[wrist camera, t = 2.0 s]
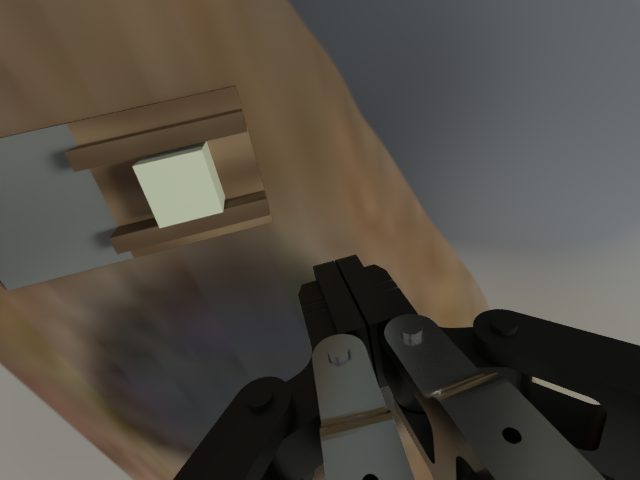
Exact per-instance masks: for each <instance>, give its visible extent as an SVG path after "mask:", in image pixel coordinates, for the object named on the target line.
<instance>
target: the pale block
mask: <svg viewBox="0 0 640 480" xmlns="http://www.w3.org/2000/svg"><path fill="white" fill-rule="evenodd" d="M132 167H133V169H134V171H135V174H136V176H137V178H138V180H139V183H140V185H141V187H142V189H143V192H144V194H145V196H146V198H147V201H148V203H149V205H150V208H151V210H152V212H153V214H154V217H155V219H156V221H157V223H158V226H159V228H163V227H167V226H171V225H175V224H179V223H183V222H187V221H191V220H195V219H199V218H202V217H206V216H210V215H214V214H218V213H222V212H223V209H224V201H225V195H224V192H223V189H222V186H221V183H220V180H219V177H218V174H217V171H216V168H215V165H214V162H213V159H212V156H211V153H210V150H209V147H208V144H207V141H205V142H201V143H197V144H193V145H188V146H184V147H180V148H176V149H171V150H167V151H163V152H158V153H154V154H150V155H146V156H143V157H142V158H141V159H140V160H139V161H138V162H137V163H136V164H134V165H133V166H132Z"/></svg>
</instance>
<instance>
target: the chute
mask: <svg viewBox="0 0 640 480" xmlns="http://www.w3.org/2000/svg"><path fill="white" fill-rule="evenodd" d="M67 125H68V127H69V129H70V131H71V133H72V135H73V137H74V139H75V141H76V143H77V145H78V146H76V147H74V148H72V149H70V150H68V151H65V152H64V154H65V156H66V157H67V159H68V161H69V163H70V165H71V167H72V169H73V171H74V172H77V171H82V170H86V169H90V171H91V173H92V175H93V177H94V179H95V181H96V183H97V185H98V187H99V189H100V191H101V193H102V195H103V197H104V199H105V201H106V203H107V205H108V207H109V209H110V211H111V213H112V215H113V217H114V219H115V221H116V223H117V225H118V228H117V229H116V230H115V231H114V233H113V234H112V235H111V237H110V238H109V240H110V242H111V244H112V245H113V247H114V249H115V251H116V253H117V254H121V253H125V252H129V251H131V253H132V255H133V257H134V258H136V257H139V256H143V255H147V254H151V253H155V252H159V251H163V250H166V249H170V248H174V247H178V246H182V245H186V244H189V243H193V242H197V241H201V240H205V239H209V238H213V237H216V236H220V235H224V234H228V233H232V232H236V231H239V230H243V229H247V228H251V227H255V226H259V225H263V224H266V223H270V222H273V219H272V215H271V212H270V208H269V205H268V201H267V197H266V194H265V190H264V187H263V183H262V179H261V176H260V172H259V169H258V165H257V161H256V158H255V154H254V151H253V147H252V144H251V140H250V136H249V133H248V129H247V126H246V122H245V118H244V115H243V111H242V108H241V104H240V100H239V97H238V93H237V90H236V86H233V87H228V88H224V89H219V90H215V91H210V92H206V93H201V94H197V95H192V96H188V97H183V98H179V99H174V100H170V101H165V102H161V103H156V104H152V105H147V106H142V107H138V108H133V109H129V110H124V111H120V112H115V113H111V114H106V115H102V116H97V117H93V118H88V119H84V120H79V121H75V122H70V123H67ZM205 141H207V144H208V147H209V150H210V153H211V156H212V159H213V162H214V165H215V168H216V171H217V174H218V177H219V180H220V183H221V186H222V189H223V192H224V195H225V201H224V209H223V212H222V213H218V214H214V215H210V216H206V217H202V218H199V219H195V220H191V221H187V222H183V223H179V224H175V225H171V226H167V227H163V228H159V226H158V223H157V221H156V219H155V217H154V214H153V212H152V210H151V208H150V205H149V203H148V201H147V198H146V196H145V194H144V192H143V189H142V187H141V185H140V183H139V180H138V178H137V176H136V174H135V171H134V169H133V167H132V166H133V165H134V164H136V163H137V162H138V161H139V160H140V159H141V158H142V157H143V156H146V155H150V154H154V153H158V152H163V151H167V150H171V149H176V148H180V147H184V146H188V145H193V144H197V143H201V142H205Z"/></svg>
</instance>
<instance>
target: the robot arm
mask: <svg viewBox="0 0 640 480" xmlns="http://www.w3.org/2000/svg"><path fill="white" fill-rule="evenodd" d="M313 269H314V274H315V278H316V281H313V282H310V283H306V284H302V286H301V289H300V292H299V294H298V296H299V300H300V304H301V307H302V311H303V315H304V319H305V323H306V327H307V331H308V334H309V338H310V342H311V346H312V356H311V359H310V361H309V363H308V365H307V366H306V367H305V368H304V370H302V371H301V372H300V373H299V374H298V375H296V376H295V377H293V378H291V379H290V380H288V381H286V382H285V381H283V380H282V379H280V378H277V377H262V378H259V379H256V380H254V381H252V382H250V383H249V384H247V385H246V386H245V387H243V388H242V389H241V390H240V392H239V393H238V394H237V395H236V397H235V398H234V399H233V401H232V402H231V403H230V405H229V406H228V407H227V409H226V410H225V411H224V413H223V414H222V415H221V417H220V418H219V419H218V421H217V422H216V423H215V425H214V426H213V427H212V429H211V430H210V431H209V433H208V434H207V435H206V437H205V438H204V439H203V440H202V442H201V443H200V444H199V446H198V447H197V448H196V450H195V451H194V452H193V454H192V455H191V456H190V458H189V459H188V460H187V462H186V463H185V464H184V466H183V467H182V468H181V470H180V471H179V472H178V474H177V475H176V476H175V478H174V479H173V480H312V479H313V476H314V471H315V469H316V468H317V467H319V466H320V465H321V464H323V463H324V468H325V475H326V480H415V478H414V475H413V473H412V470H411V467H410V464H409V461H408V458H407V455H406V453H405V450H404V447H403V444H402V441H401V438H400V435H399V433H398V430H397V427H396V424H395V421H394V419H393V416H392V414H391V412H390V410H387V408H386V406H385V403H384V400H383V397H382V394H381V391H380V388H381V387H384V386H388V385H389V387H390V389H391V391H392V393H393V397H394V404H395V409H396V411H397V413H398V415H399V416H400V418H401V420H402V422H403V424H404V425H405V427H406V429H407V431H408V433H409V434H410V436H411V438H412V440H413V442H414V443H415V445H416V447H417V449H418V451H419V452H420V454H421V456H422V458H423V459H424V461H425V463H426V465H427V467H428V468H429V470H430V472H431V474H432V477H433V479H434V480H640V346H639V345H635V344H631V343H627V342H624V341H620V340H617V339H613V338H609V337H606V336H602V335H598V334H595V333H591V332H587V331H583V330H580V329H576V328H572V327H569V326H565V325H562V324H558V323H554V322H551V321H547V320H543V319H539V318H536V317H532V316H528V315H525V314H521V313H517V312H514V311H510V310H503V309H494V310H488V311H485V312H483V313H481V314H479V315H478V316H477V317H476V318H475V320H474V322H473V327H466V328H443V327H439V326H438V325H437V324H436V323H435V322H434V321H433V320H431V319H430V318H428V317H426V316H423V315H418V313H417V312H416V311H415V309H414V308H413V307H412V305H411V304H410V302H409V301H408V300H407V298H406V297H405V296H404V294H403V293H402V292H401V290H400V289H399V288H398V286H397V285H396V283H395V282H394V281H393V280H392V278H391V276H390V275H389V274H388V272H387V271H386V270H384V269H383V268H381V267H379V266H377V265H375V264H374V265H370V266H367V267H364V266H363V265H362V263H361V262H360V260H359V258H358V257H357V255H352V256H349V257H345V258H341V259H338V260H335V262H334V261H331V262H327V263H323V264H320V265H316V266H313ZM532 376H533V377H536V378H539V379H541V380H544V381H547V382H550V383H552V384H555V385H558V386H561V387H563V388H566V389H569V390H571V391H574V392H577V393H580V394H582V395H585V396H588V397H590V398H592V399H594V400H596V401H597V402H599V403H600V404H601V405H594V404H590V403H587V402H584V401H581V400H579V399H576V398H574V397H571V396H568V395H565V394H563V393H560V392H557V391H555V390H552V389H550V388H547V387H544V386H542V385H539V384H536V383H534V382H532Z"/></svg>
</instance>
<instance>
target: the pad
mask: <svg viewBox="0 0 640 480" xmlns="http://www.w3.org/2000/svg"><path fill="white" fill-rule="evenodd" d="M76 146H78V145H77V143H76V141H75V139H74V137H73V135H72V133H71V131H70V129H69V127H68V125H67V123H66V124H61V125H57V126H52V127H48V128H43V129H39V130H34V131H30V132H25V133H21V134H16V135H12V136H7V137H3V138H0V281H1V282H2V283H3V285H4V286H5V288H6V289H7V290H8V291H9V290H13V289H16V288H20V287H24V286H28V285H32V284H36V283H39V282H43V281H47V280H51V279H55V278H59V277H63V276H66V275H70V274H74V273H78V272H82V271H86V270H89V269H93V268H97V267H101V266H105V265H109V264H113V263H116V262H120V261H124V260H128V259H132V258H134V257H133V255H132V253H131V251H129V252H125V253H121V254H117V253H116V251H115V249H114V247H113V245H112V244H111V242H110V240H109V238H110V237H111V235H112V234H113V233H114V231H115V230H116V229H117V228H118V225H117V223H116V221H115V219H114V217H113V215H112V213H111V211H110V209H109V207H108V205H107V203H106V201H105V199H104V197H103V195H102V193H101V191H100V189H99V187H98V185H97V183H96V181H95V179H94V177H93V175H92V173H91V171H90V169H86V170H82V171H77V172H74V171H73V169H72V167H71V165H70V163H69V161H68V159H67V157H66V156H65V154H64V152H65V151H68V150H70V149H72V148H74V147H76Z"/></svg>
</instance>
